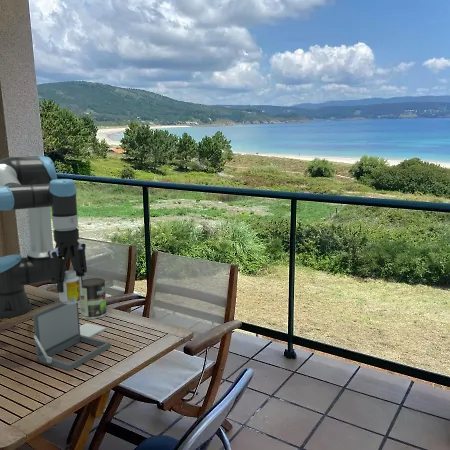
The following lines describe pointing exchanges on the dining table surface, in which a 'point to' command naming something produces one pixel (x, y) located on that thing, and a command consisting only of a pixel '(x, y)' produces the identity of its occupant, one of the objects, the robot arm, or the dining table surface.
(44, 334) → the case
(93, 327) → the pad
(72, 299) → the supplement bottle
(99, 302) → the coffee can
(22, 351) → the dining table surface
